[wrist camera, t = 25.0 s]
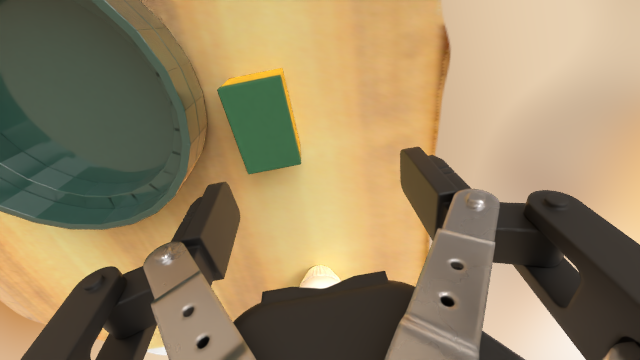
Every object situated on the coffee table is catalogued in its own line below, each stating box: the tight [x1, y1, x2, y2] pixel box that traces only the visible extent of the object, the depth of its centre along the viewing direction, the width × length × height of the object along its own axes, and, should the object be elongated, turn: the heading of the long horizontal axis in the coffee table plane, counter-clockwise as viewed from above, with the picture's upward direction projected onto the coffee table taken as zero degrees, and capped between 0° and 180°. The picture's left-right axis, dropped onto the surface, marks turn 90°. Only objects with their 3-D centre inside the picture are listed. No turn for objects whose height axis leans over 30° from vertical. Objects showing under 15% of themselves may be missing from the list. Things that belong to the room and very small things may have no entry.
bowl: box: [0, 0, 207, 230], centre depth 20 cm, size 19×19×5 cm
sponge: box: [217, 68, 301, 174], centre depth 22 cm, size 7×4×4 cm, turn 10°
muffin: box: [299, 265, 341, 289], centre depth 32 cm, size 6×6×7 cm
